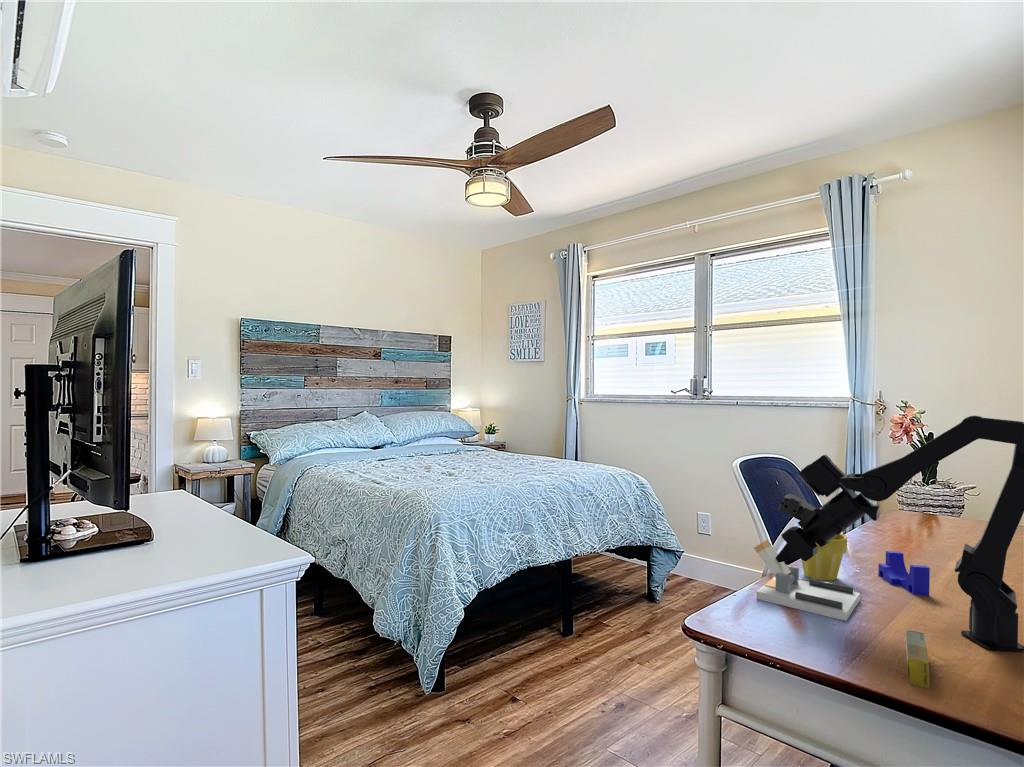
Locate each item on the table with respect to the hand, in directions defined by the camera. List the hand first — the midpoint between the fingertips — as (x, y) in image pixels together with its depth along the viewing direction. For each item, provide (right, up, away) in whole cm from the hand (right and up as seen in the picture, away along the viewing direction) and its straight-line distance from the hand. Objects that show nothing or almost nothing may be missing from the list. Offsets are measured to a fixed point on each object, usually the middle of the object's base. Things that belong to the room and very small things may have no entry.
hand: (777, 560), depth 121 cm
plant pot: (+15, -7, +11) cm, 20 cm away
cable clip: (+30, -8, +6) cm, 32 cm away
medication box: (+6, -7, -32) cm, 34 cm away
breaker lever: (+1, -4, -1) cm, 4 cm away
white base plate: (+4, -7, -4) cm, 9 cm away
